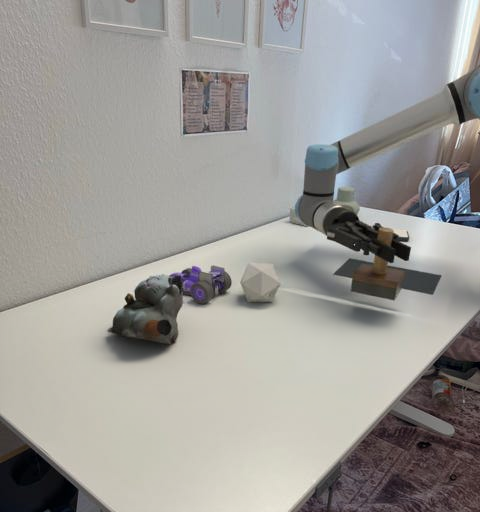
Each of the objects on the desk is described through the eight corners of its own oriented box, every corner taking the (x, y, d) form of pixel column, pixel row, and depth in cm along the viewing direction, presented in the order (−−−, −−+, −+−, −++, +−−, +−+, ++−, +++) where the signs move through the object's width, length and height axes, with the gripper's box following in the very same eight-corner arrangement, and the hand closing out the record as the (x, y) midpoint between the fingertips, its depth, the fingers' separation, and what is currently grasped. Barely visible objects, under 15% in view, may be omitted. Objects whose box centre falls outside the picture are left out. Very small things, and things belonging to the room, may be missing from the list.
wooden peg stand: (401, 288, 101) (413, 228, 95) (394, 300, 95) (405, 237, 89) (359, 280, 105) (368, 221, 99) (350, 291, 99) (358, 230, 93)
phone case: (406, 234, 155) (356, 229, 158) (407, 229, 155) (357, 224, 158) (408, 243, 148) (356, 237, 151) (410, 238, 147) (357, 232, 150)
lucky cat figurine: (100, 329, 93) (118, 260, 93) (158, 340, 99) (174, 275, 99) (120, 342, 80) (140, 262, 80) (185, 355, 86) (204, 280, 86)
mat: (440, 279, 121) (441, 275, 121) (432, 298, 110) (432, 294, 110) (348, 261, 131) (349, 258, 131) (332, 277, 120) (332, 274, 120)
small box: (320, 222, 165) (321, 207, 163) (306, 227, 160) (308, 211, 158) (302, 218, 170) (303, 203, 168) (288, 222, 165) (289, 207, 162)
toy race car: (181, 277, 118) (180, 252, 115) (231, 292, 111) (232, 265, 108) (155, 290, 111) (153, 264, 108) (207, 306, 104) (207, 278, 101)
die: (266, 314, 102) (292, 274, 102) (231, 292, 102) (256, 252, 101) (263, 310, 111) (286, 274, 110) (230, 290, 110) (253, 253, 109)
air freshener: (357, 214, 176) (361, 187, 171) (358, 220, 169) (362, 191, 164) (327, 212, 178) (330, 185, 173) (327, 218, 170) (330, 190, 166)
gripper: (363, 235, 115) (430, 269, 95) (304, 241, 110) (362, 278, 90) (368, 204, 111) (438, 232, 92) (307, 209, 106) (368, 240, 87)
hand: (400, 255), depth 91 cm, fingers closed on wooden peg stand, 3 cm apart
